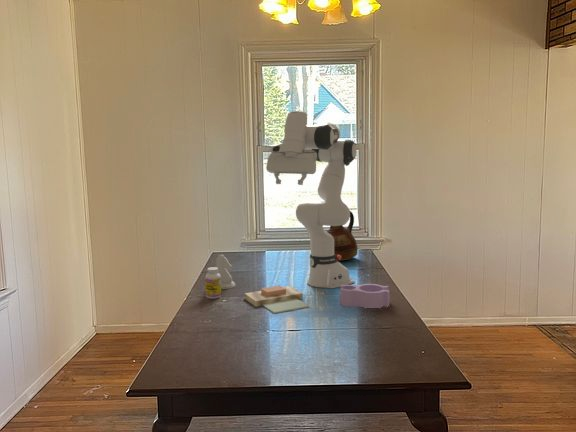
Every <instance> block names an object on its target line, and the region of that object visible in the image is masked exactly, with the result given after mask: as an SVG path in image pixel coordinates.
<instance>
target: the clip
mask: <svg viewBox="0 0 576 432" xmlns="http://www.w3.org/2000/svg"><path fill="white" fill-rule="evenodd" d="M339 289H340V290H339V305H341V306H342V305H343V307H348V306H351V307H358V306H361V307H364V308H363V309H366V308H379V309H381V308H380V307H383V306H387V307H388V306H389V307H390V296H391V295H390V293H391V292H390V290H389V286H388V285H381V284H377V283H376V284H375V283H363V284H357V285H356V284H347V285H342V286H340V288H339ZM361 307H360V308H361ZM365 307H366V308H365ZM387 307H386V308H387ZM383 308H384V307H383Z"/></svg>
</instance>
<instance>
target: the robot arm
mask: <svg viewBox="0 0 576 432" xmlns="http://www.w3.org/2000/svg"><path fill="white" fill-rule="evenodd" d="M283 131H284V137H283V139H282V143H280V144H277V145H273V146H271V148H270V149H269V150H270V154H269V155H268V158H267V162H266V167H265V169H266V171H267V172H268V173H270V174H273V176H274V178H275V184H276V185H281V184H282V179H280V178H279V176H280V174H289V175H291V174H293V175H294V174H295V175H299V174H300V175H301V177H300V178H299V179H297V185H298V186H303V185H304V181H305V179H306V178H307V176H308V175H315V173H316V172H317V162H320V163H322V162H324V163H328V164H326V167H325V168H324V170H323V172H322V175H321V177H320V180H319V183H318V184H319V185H318V187H317V194H318V196H319V197H320V198H321V200H323V201H315V200H314V201H313V200H310V201H309V200H308V201H303V202H300V203H299V204H298V205H297V206H296V210H295V217H296V219H297V221H298V222H299V223H300V224H301V225H302V226H304V228H305V230H306V231H307V234H308V236H309V241H310V242H309V243H310V253H309V265H310V268H309V273H308V275H309V276H308V279H307V284H308V285H309V286H311V287H315V288H326V289H336V288H339V287H340V286H342V285H352V284H353V283H355V280H354V278H352V277H351V276H350V270H349V269H348V268H347V267H346V266H344V265H343V264H342V263H341V262H340V261H337V259H339V260H340V259H341V257H342V256H341V255H336V254H334V238H333V236H332V235H331V234H329V233H327V231H326V230H325V228H324V226H325V227H326V226H327V227H328V226H329V227H330V226H340V225H343V226H346V224H347V223H348V222H349V221H350V211H351V210H350V208H349V207H348V205H347V204H345V202H344V201H342V190H343V186H344V182H345V179H346V178H345V177H346V176H345V175H346V168H345V166H346V167H347V166H349V165H350V164H351V163H352V162H353V161H354V160H355V159H356V156H357V150H358V149H357V146H356V143H355V141H353V140H352V139H341V138H340V136H341V131H340V128H339V127H338V126H337V125H335V124H334V123H330V122H320V123H316V124H313V125H312V124H311V125H309V124H308V113H307V112H306V111H303V110H291V111H289V112H288V113H287V116H286V119H285V123H284V129H283ZM349 210H350V211H349Z"/></svg>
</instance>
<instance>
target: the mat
mask: <svg viewBox="0 0 576 432" xmlns="http://www.w3.org/2000/svg"><path fill="white" fill-rule="evenodd" d="M262 307H264V308H265V309H267V310H268V311H269V312H271V313H272V314H280V313H286V312H290V311H297V310H302V309H307V308H310V305H309V304H307V303H306V302H304V301H302V300H301V299H297V298H295V299H289V300H284V301H278V302H272V303H267V304H263V306H262Z"/></svg>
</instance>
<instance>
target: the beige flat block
mask: <svg viewBox="0 0 576 432" xmlns="http://www.w3.org/2000/svg"><path fill="white" fill-rule="evenodd" d="M282 287H283V288H285V289H286V294H280V295H275V296H269V297H267V296H265V295H264V294H262V293H261V290H258V291H257V290H256V291H251V292H244V300H246V301H247V302H249V304H251V305H253V306H254V307H255V308H257V307H264V306H263V304H267V303H272V302H278V301H284V300H289V299H295V298H297V299H299V300H301V299H303V295H304V294H303V292H301V291H299V290H298V289H296V288H294V287H293V286H290V285H287V286H282Z"/></svg>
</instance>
